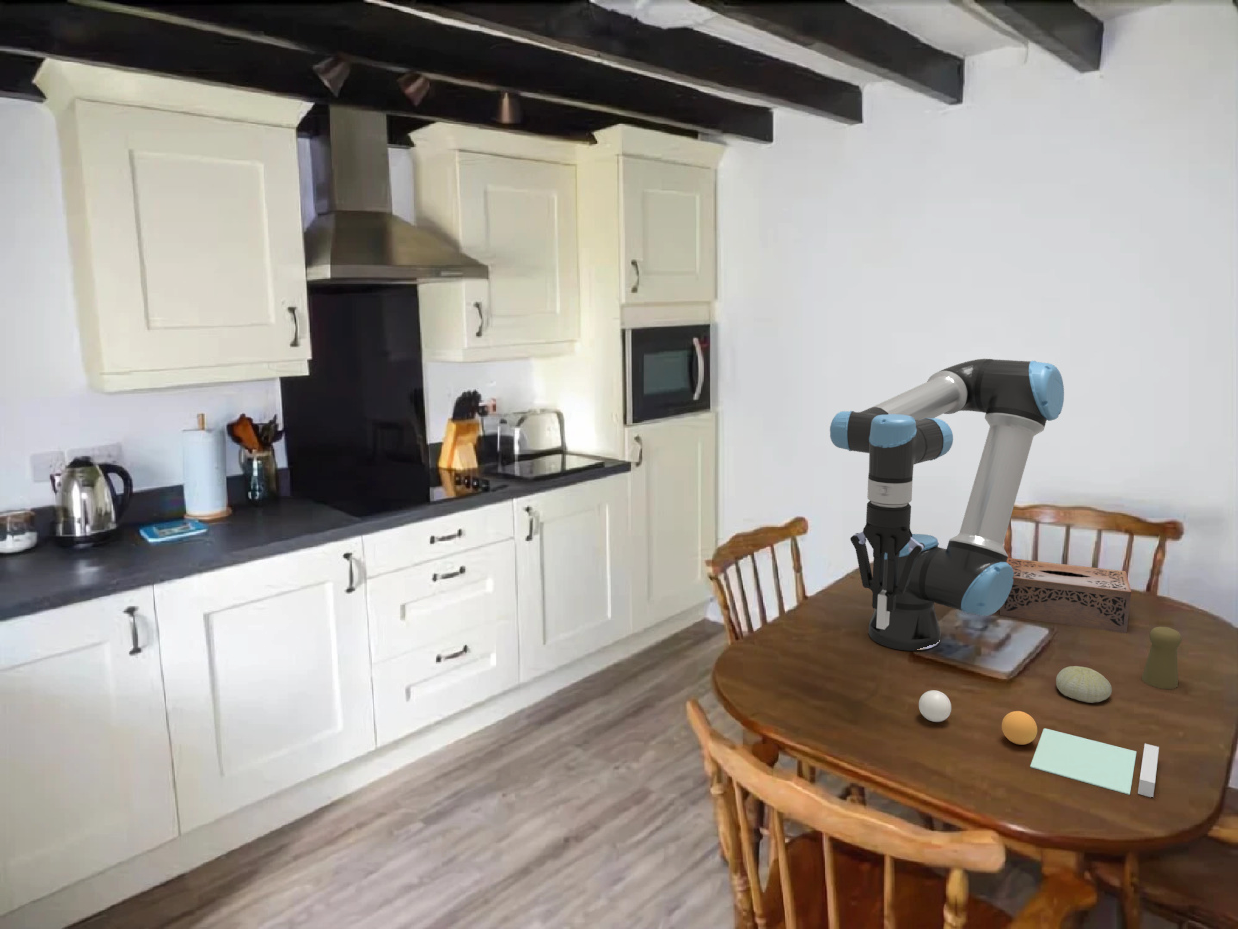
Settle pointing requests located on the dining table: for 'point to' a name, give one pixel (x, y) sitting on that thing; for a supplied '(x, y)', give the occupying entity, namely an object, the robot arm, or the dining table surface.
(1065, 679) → the sea urchin shell
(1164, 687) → the cork
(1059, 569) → the tissue box cover
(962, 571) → the robot arm
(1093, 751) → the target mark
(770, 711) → the dining table surface
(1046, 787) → the dining table surface
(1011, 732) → the orange ball
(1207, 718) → the dining table surface
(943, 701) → the cue ball
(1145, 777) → the stopper
